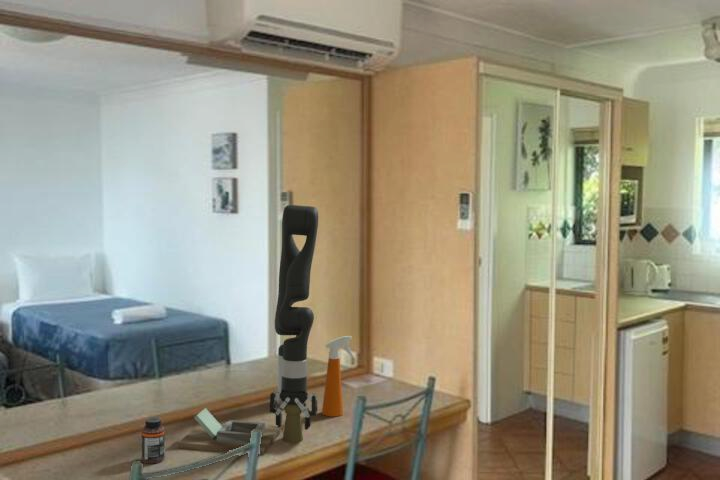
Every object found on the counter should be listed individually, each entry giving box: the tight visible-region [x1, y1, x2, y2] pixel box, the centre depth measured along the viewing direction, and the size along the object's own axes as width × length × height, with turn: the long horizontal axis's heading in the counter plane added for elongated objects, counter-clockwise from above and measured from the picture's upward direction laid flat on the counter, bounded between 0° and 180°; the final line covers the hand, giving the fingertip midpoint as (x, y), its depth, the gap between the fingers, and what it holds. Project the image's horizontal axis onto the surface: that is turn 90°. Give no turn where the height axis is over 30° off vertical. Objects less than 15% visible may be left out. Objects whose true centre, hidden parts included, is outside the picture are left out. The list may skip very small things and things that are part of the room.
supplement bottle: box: [141, 416, 166, 464], centre depth 191 cm, size 6×6×11 cm
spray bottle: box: [321, 335, 357, 418], centre depth 235 cm, size 7×11×26 cm, turn 94°
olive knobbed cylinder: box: [282, 404, 304, 444], centre depth 210 cm, size 6×6×11 cm
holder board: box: [177, 419, 281, 456], centre depth 208 cm, size 18×25×4 cm
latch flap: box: [193, 407, 222, 439], centre depth 207 cm, size 7×8×1 cm
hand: (293, 427), depth 210 cm, fingers open, 8 cm apart
